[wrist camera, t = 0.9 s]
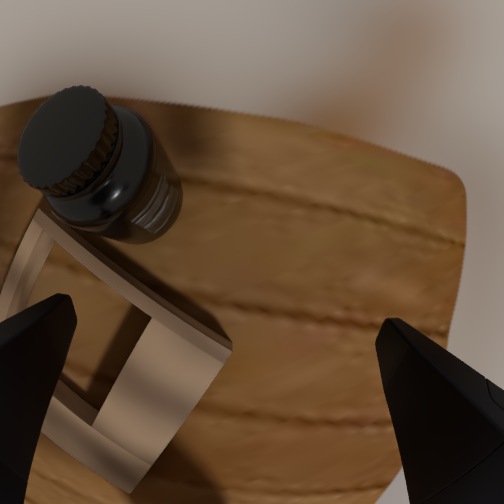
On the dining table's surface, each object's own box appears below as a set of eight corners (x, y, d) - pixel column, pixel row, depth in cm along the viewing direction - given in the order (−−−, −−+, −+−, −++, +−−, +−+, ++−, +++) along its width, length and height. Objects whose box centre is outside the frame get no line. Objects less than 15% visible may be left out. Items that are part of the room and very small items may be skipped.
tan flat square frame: (137, 479, 19) (130, 494, 16) (-5, 362, 19) (-19, 367, 16) (232, 342, 20) (232, 351, 18) (54, 213, 20) (38, 208, 18)
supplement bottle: (164, 144, 21) (114, 42, 9) (199, 219, 21) (159, 154, 9) (91, 185, 21) (-2, 121, 9) (119, 261, 20) (14, 247, 8)
